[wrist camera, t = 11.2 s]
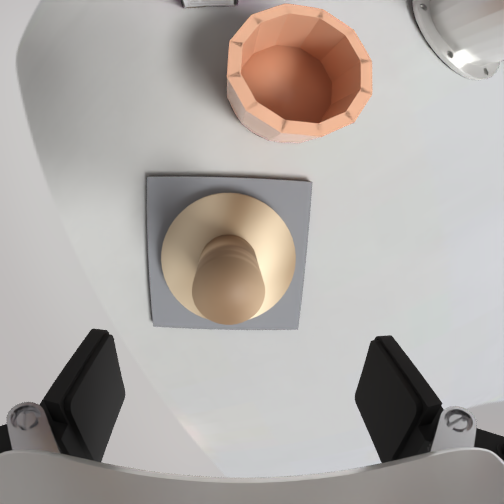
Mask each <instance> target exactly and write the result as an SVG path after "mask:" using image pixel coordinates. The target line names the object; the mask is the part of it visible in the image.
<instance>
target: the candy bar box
mask: <svg viewBox="0 0 504 504" xmlns="http://www.w3.org/2000/svg"><path fill="white" fill-rule="evenodd" d="M181 2H182V5H183V8H197V7H206V6H237V4H238V0H181Z"/></svg>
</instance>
